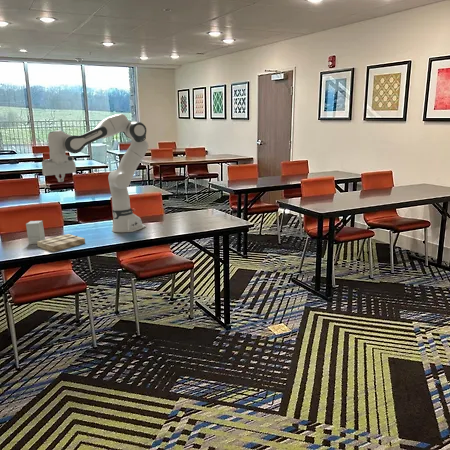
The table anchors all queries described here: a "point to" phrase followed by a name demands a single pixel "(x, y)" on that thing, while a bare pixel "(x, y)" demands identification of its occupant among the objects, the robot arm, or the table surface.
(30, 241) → the supplement box
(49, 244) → the laid board
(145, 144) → the robot arm
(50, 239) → the tan quilted pad
